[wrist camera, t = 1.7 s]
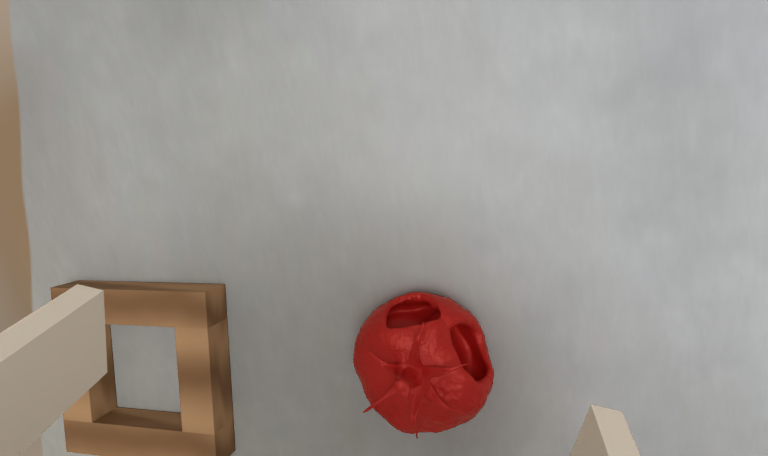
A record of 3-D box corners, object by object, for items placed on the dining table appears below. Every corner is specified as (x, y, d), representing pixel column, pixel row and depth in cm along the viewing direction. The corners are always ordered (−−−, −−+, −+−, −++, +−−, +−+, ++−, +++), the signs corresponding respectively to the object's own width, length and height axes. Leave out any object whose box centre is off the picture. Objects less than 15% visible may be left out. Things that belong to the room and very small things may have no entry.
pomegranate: (448, 429, 40) (432, 504, 31) (345, 356, 41) (302, 408, 32) (519, 331, 38) (525, 381, 29) (409, 258, 39) (382, 283, 30)
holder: (235, 449, 45) (216, 469, 42) (93, 434, 48) (66, 451, 45) (224, 284, 43) (205, 292, 40) (78, 280, 47) (50, 287, 44)
